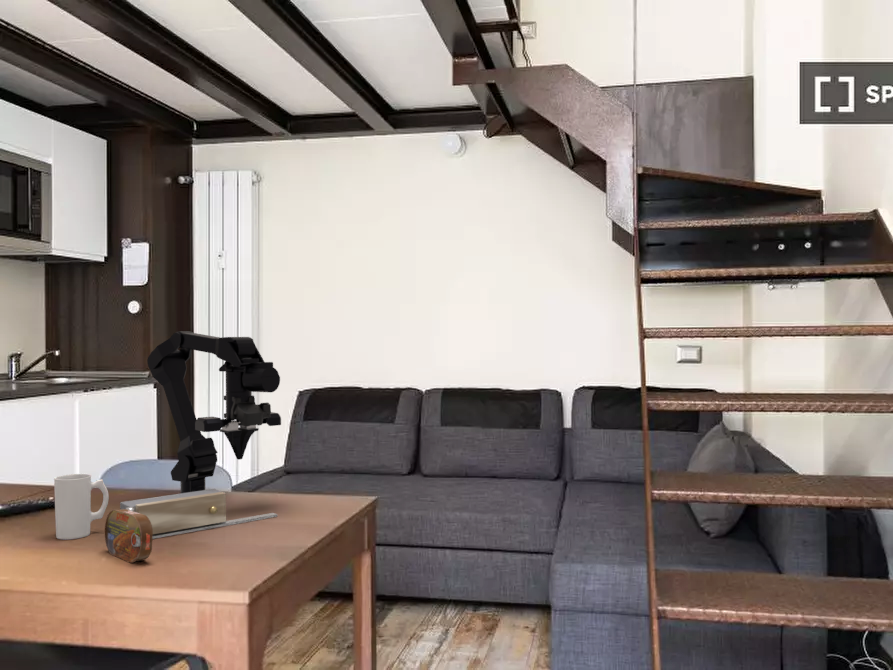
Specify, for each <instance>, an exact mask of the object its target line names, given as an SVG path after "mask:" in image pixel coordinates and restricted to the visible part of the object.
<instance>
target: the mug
mask: <svg viewBox="0 0 893 670" xmlns="http://www.w3.org/2000/svg"><path fill="white" fill-rule="evenodd" d="M53 480H54V485H53V486H54V514H55V516H54V517H55V538H57V539H58V540H64V541H65V540H66V541H67V540H75V539H82V538H85V537H88V536H90V535H91V523H92V522H93V521H94V520H101V519H102V518H103V517H104V515H105V512H106V510H107V507H108V505H109V500H110V499H109V498H110V496H109V495H110V494H109V491H108V488H107V487H106V485H105V483H104V481H103V478H102V479H98V480H95V481H94V482H93V481H92V474H88V473H74V474H73V473H72V474H64V475H63V474H62V475H59V476H56V477H53ZM95 488H96V489H99V490H100V491H101V493H102V496H103V497H102V498H103V499H102V504H101V506H100V508H99V509H98V510H97V511H94V512H93V511H92V509H91V506H92V505H91V502H92V501H91V498H92V497H91V495H92V490H93V489H95Z"/></svg>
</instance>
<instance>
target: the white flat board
mask: <svg viewBox="0 0 893 670" xmlns="http://www.w3.org/2000/svg"><path fill="white" fill-rule="evenodd" d="M126 509H127V510H130V511H134V512H135V507H127V508H126ZM270 518H271V519H272V518H278V514H277V513H274V512H270V513H264V514H260V515H259V514H257V515H253V516H246V517H240V518H235V519H230V520H226V522H220V523H215V524H209V525H203V526H198V527H192V528H186V529H181V530H175V531H169V532H164V533H158V534H153V535H152V536H153V538H152V540H154V539H160V538H164V537H165V538H166V537H171V536H177V535H182V534H186V533H187V534H188V533H194V532H198V531H205V530H210V529H211V530H212V529H216V528H220V527H227V526H232V525H239V524H244V523H248V522H254V521H259V520H260V521H261V520H266V519H270Z"/></svg>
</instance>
